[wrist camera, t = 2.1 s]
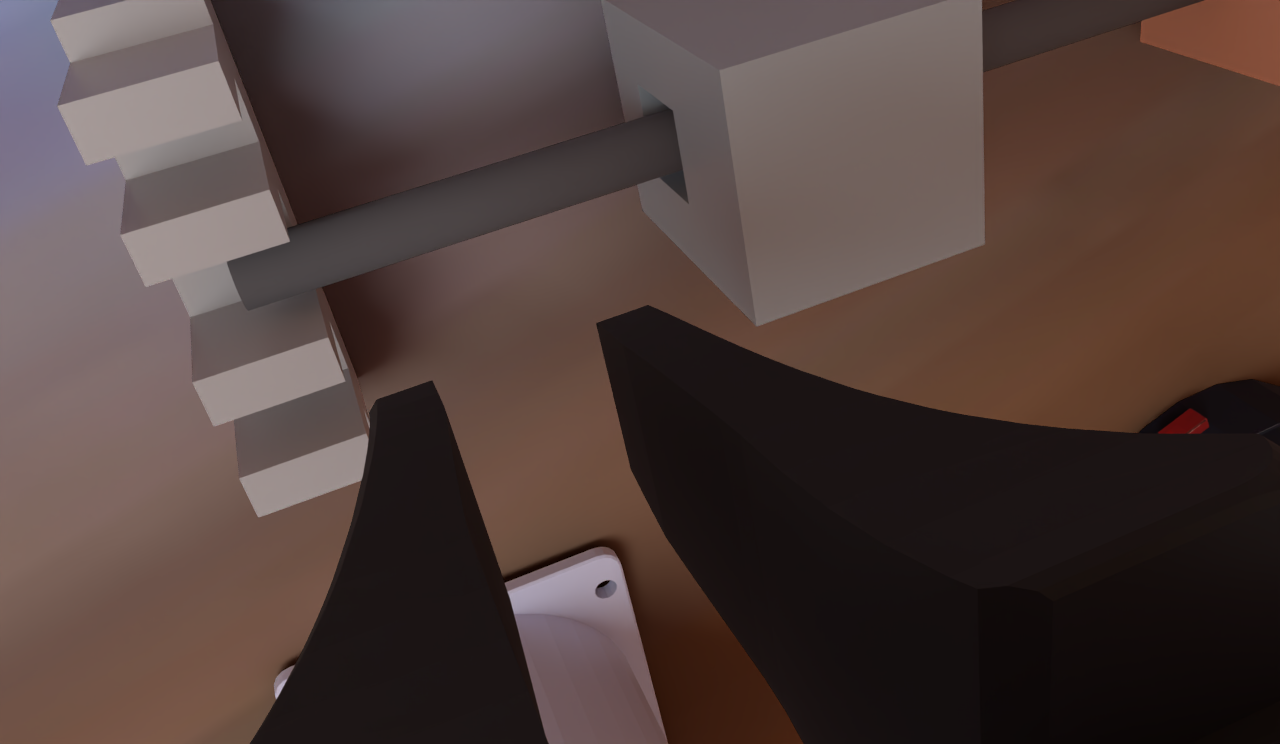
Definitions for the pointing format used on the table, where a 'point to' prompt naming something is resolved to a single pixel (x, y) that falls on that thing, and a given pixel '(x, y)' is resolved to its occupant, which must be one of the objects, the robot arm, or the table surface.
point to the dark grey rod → (648, 149)
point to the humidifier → (1225, 411)
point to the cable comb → (213, 235)
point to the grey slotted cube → (809, 138)
